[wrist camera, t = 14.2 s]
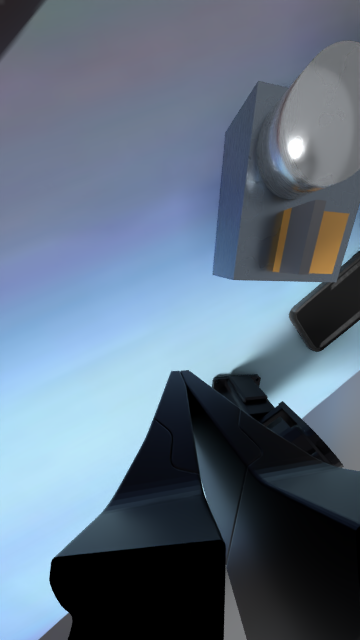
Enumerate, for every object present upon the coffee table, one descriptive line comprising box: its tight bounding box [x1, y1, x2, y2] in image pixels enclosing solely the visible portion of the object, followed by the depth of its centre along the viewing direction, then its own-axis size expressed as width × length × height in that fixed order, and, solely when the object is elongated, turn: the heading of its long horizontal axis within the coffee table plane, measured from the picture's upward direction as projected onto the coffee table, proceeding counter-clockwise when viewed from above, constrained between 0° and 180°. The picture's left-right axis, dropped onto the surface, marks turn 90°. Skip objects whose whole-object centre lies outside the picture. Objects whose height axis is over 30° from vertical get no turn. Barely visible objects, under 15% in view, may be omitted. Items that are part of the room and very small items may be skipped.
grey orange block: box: [273, 200, 349, 275], centre depth 14 cm, size 4×3×5 cm
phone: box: [289, 251, 360, 352], centre depth 23 cm, size 8×1×15 cm
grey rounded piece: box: [257, 41, 360, 199], centre depth 13 cm, size 6×6×7 cm
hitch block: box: [213, 81, 360, 282], centre depth 16 cm, size 12×10×5 cm
